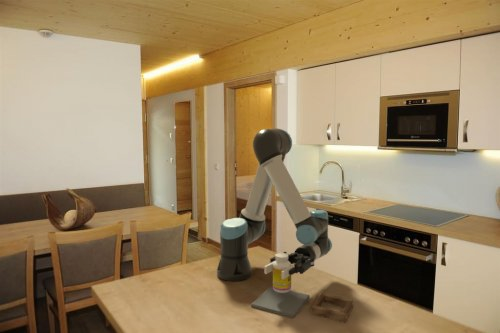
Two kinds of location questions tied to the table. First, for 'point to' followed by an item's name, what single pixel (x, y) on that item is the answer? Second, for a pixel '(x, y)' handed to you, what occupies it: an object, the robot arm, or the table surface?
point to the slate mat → (281, 302)
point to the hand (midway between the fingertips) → (273, 272)
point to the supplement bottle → (278, 267)
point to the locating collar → (329, 313)
